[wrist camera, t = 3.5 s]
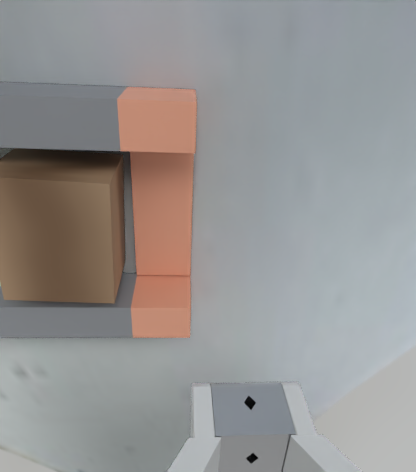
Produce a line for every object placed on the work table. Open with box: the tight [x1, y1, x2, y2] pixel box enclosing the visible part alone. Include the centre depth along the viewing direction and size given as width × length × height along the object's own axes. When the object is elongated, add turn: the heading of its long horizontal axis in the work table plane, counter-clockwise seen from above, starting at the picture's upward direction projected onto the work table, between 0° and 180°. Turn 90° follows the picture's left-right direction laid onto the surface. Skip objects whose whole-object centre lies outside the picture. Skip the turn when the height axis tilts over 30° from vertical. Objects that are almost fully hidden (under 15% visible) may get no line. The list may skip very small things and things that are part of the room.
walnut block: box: [0, 148, 125, 304], centre depth 18 cm, size 5×6×4 cm
